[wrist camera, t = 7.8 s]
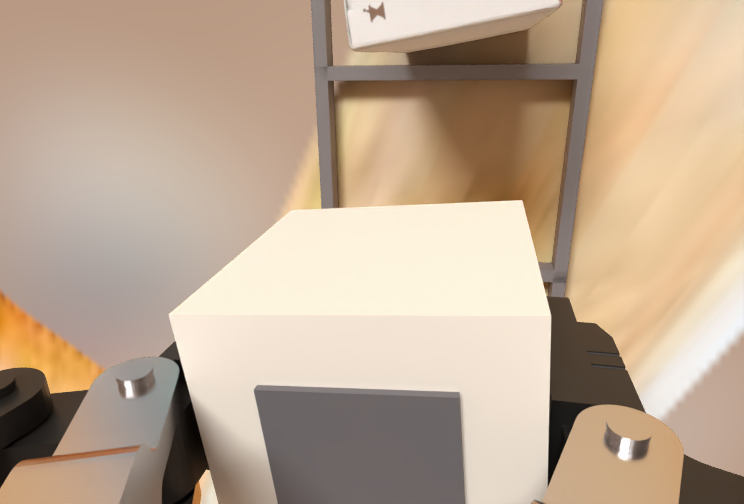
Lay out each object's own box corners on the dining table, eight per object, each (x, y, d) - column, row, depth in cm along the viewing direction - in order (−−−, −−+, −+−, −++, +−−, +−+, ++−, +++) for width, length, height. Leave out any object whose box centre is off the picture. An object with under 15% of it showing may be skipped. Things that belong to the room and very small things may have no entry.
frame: (307, -208, 21) (299, -220, 20) (629, -244, 19) (637, -259, 18) (337, 412, 32) (332, 423, 31) (542, 436, 29) (544, 448, 29)
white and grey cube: (291, 210, 12) (163, 319, 7) (522, 200, 11) (552, 321, 6) (321, 396, 13) (234, 582, 9) (521, 403, 12) (545, 621, 8)
